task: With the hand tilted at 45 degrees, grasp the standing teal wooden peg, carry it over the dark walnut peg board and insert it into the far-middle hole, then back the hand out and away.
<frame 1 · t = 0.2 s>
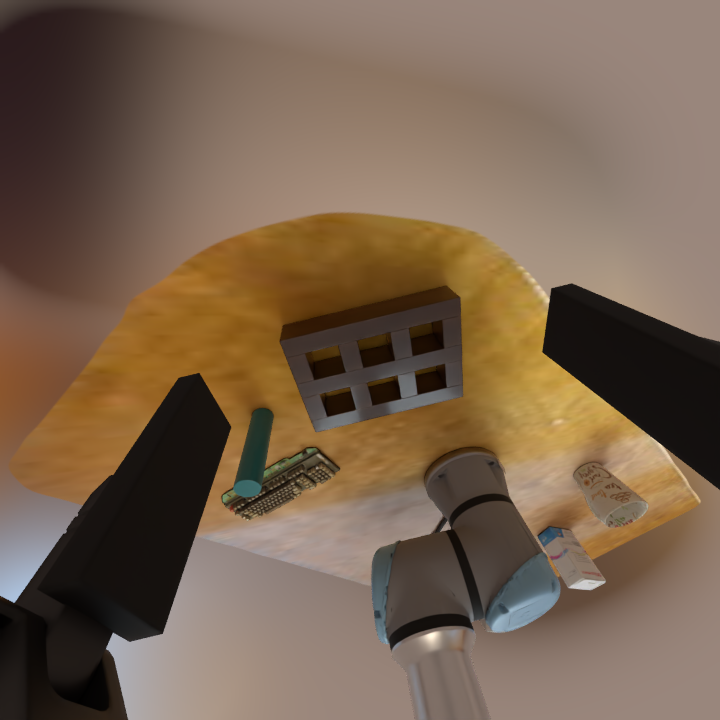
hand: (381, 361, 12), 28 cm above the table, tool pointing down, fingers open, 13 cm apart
mug: (584, 476, 68), on the table
peg board: (375, 354, 44), on the table
ink box: (553, 532, 79), on the table
peg: (263, 415, 47), on the table
keyboard: (279, 482, 56), on the table
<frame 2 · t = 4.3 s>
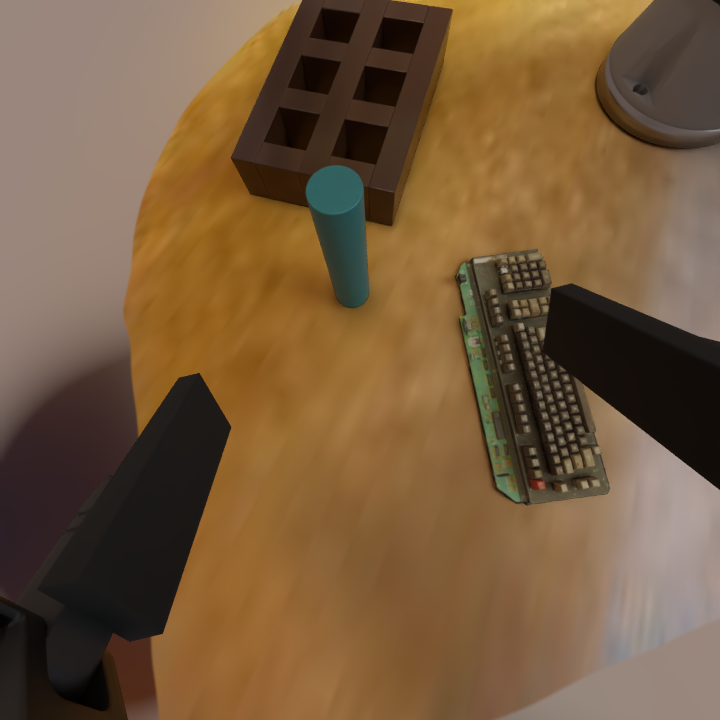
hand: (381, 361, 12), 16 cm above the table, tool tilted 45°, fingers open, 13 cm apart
peg board: (350, 125, 34), on the table
peg: (352, 292, 29), on the table
keyboard: (520, 368, 27), on the table
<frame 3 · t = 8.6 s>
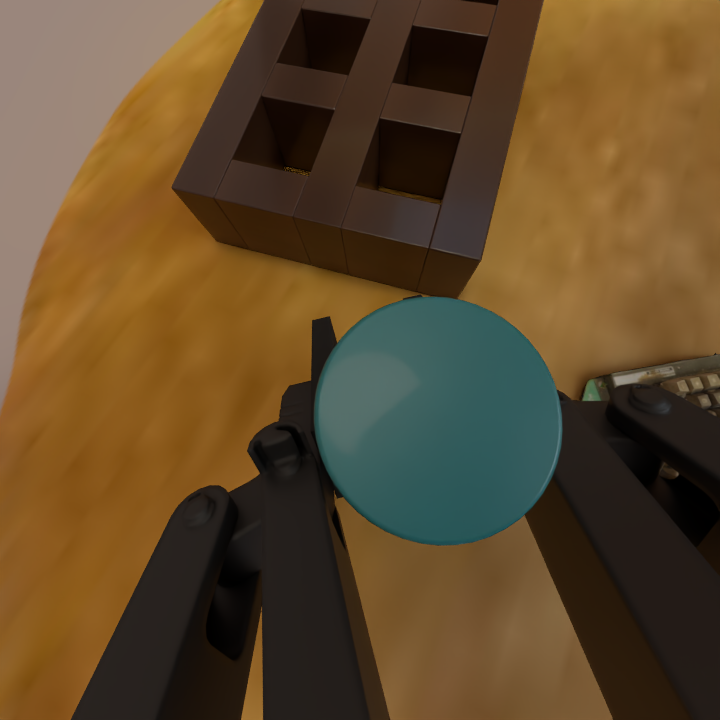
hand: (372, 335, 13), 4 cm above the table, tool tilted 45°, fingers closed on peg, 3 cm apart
peg board: (379, 128, 21), on the table
peg: (389, 424, 17), on the table, touching gripper
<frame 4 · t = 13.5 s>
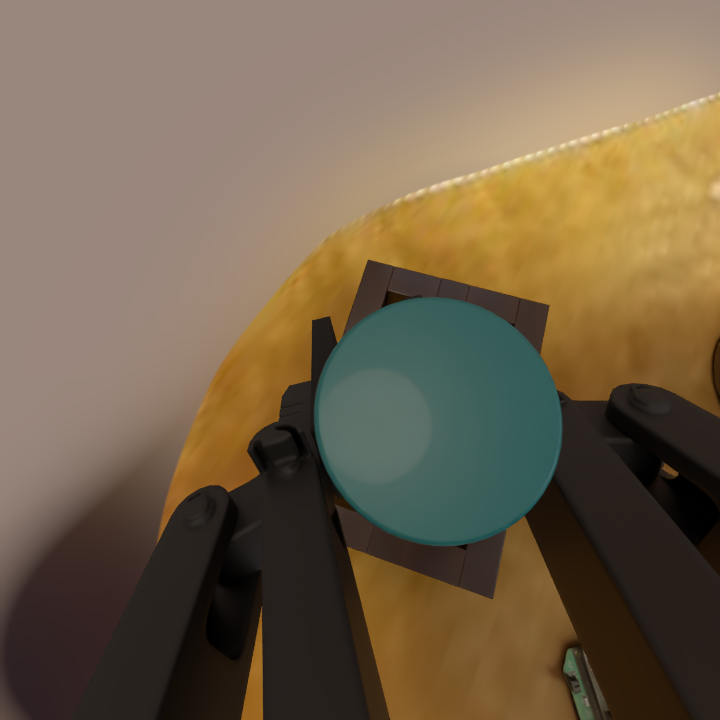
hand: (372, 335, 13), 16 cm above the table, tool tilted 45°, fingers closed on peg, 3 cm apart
peg board: (415, 411, 28), on the table
peg: (390, 424, 17), point 12 cm above the table, touching gripper
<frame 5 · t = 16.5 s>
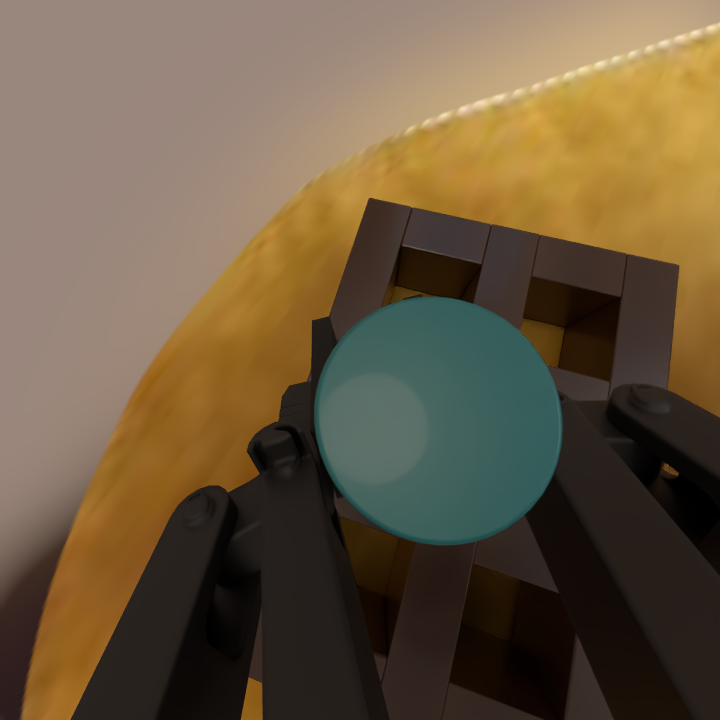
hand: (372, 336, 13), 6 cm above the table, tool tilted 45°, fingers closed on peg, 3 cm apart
peg board: (445, 440, 18), on the table
peg: (390, 424, 17), point 2 cm above the table, touching gripper
when the fingers open (6 cm above the table, at t = 18.7 s): peg drops 2 cm, resting in peg board.
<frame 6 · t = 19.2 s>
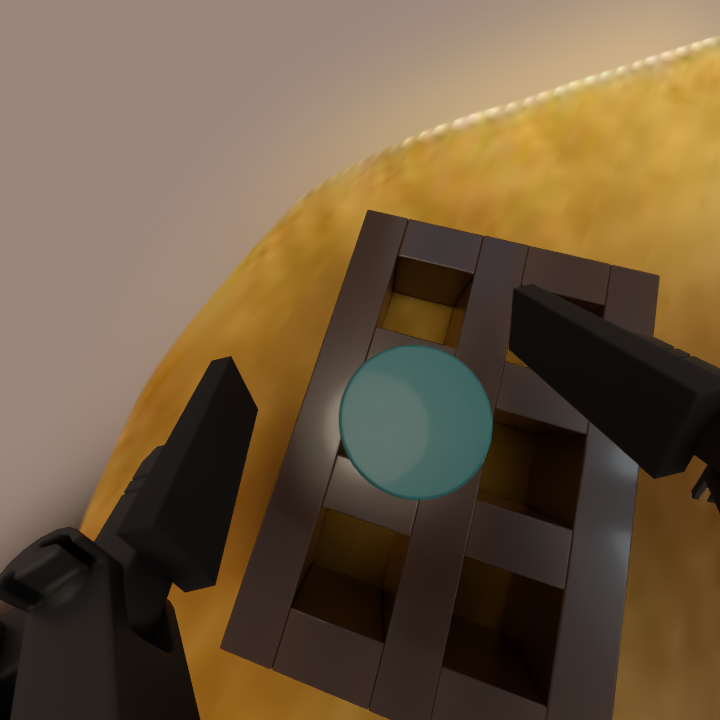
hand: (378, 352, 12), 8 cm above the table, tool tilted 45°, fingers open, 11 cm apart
peg board: (440, 440, 19), on the table
peg: (388, 425, 19), resting in peg board
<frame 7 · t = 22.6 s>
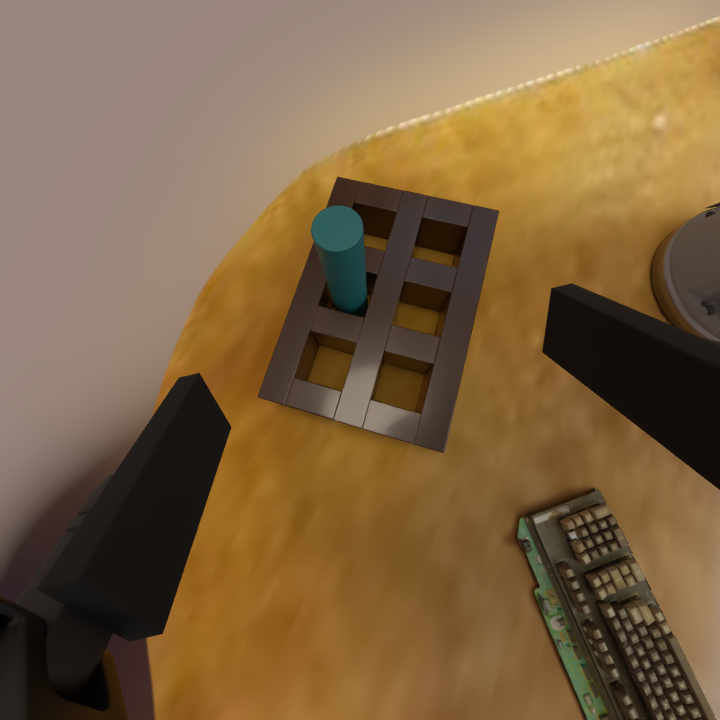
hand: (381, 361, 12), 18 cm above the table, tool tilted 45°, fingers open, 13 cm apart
peg board: (383, 317, 31), on the table
peg: (352, 309, 31), resting in peg board
keyboard: (614, 642, 24), on the table
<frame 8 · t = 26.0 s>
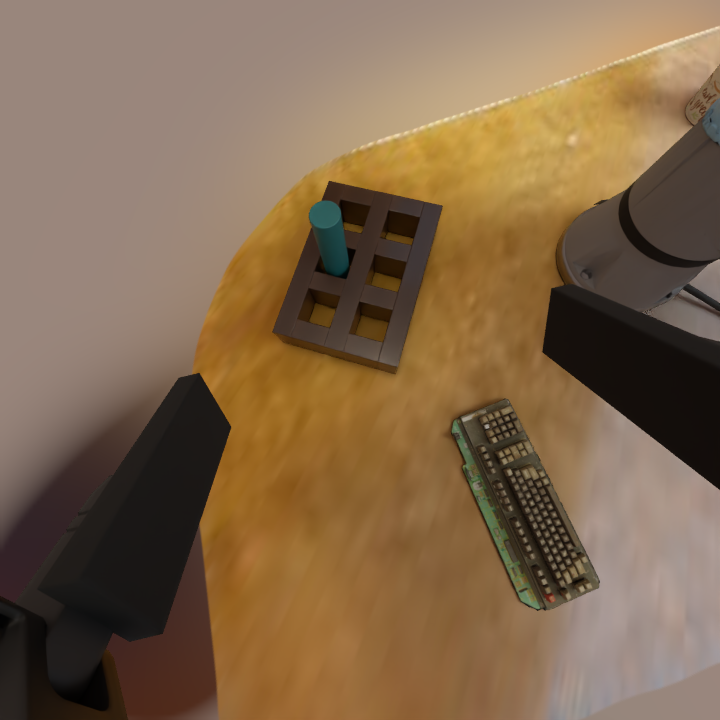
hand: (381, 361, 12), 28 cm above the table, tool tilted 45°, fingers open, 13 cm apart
peg board: (362, 283, 42), on the table
peg: (339, 277, 43), resting in peg board
keyboard: (516, 497, 36), on the table
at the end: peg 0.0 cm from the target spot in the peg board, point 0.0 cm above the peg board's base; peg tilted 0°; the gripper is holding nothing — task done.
